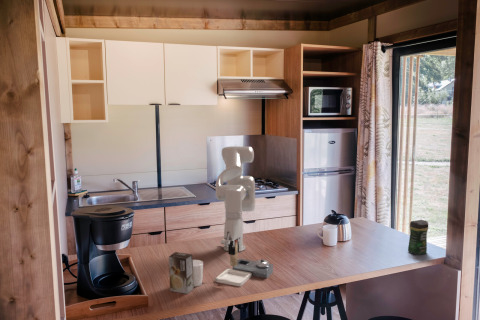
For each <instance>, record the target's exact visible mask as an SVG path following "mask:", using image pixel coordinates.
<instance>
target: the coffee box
mask: <svg viewBox="0 0 480 320" xmlns="http://www.w3.org/2000/svg"><path fill="white" fill-rule="evenodd" d="M193 260H194V259H193V254H192V253H186V252H177V251H174V252H173V253H171V254H170V255H169V256H168V273H169V292H174V293H181V294H185V295H187V294H190V292H191V291H192V290H193V289H194V286H193Z"/></svg>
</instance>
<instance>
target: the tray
mask: <svg viewBox="0 0 480 320" xmlns="http://www.w3.org/2000/svg"><path fill="white" fill-rule="evenodd" d="M252 277H253V276H252V273H250V272H244V271H239V270H234V269H233V268H226V269H225V270H224V271H222V272H221V273H220V274H219V275H218V276H216V277H215V278H214V282H216V283H219V284H220V283H221V284H225V285H228V286H229V285H230V286H231V285H232V286H236V287H240V288H241V287H242V286H243V285H244V284H245V283H246V282H247V281H248V280H249V279H251V278H252Z"/></svg>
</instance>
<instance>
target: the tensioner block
mask: <svg viewBox="0 0 480 320" xmlns="http://www.w3.org/2000/svg"><path fill="white" fill-rule="evenodd" d="M232 269H234V270H239V271H244V272H250V273H252V276H251V277H258V278H263V279H268V278H269V277H270V276H271V275H272V274H273V273H274V264H272V263H269V260H267V259H263V258H261V259H258V260H251V259H244V258H238V259H237V266H232Z"/></svg>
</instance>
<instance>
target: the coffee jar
mask: <svg viewBox="0 0 480 320" xmlns="http://www.w3.org/2000/svg"><path fill="white" fill-rule="evenodd" d="M428 230H429V222H428V221H427V220H424V219H418V220H411V221H410V223H409V241H408V248H407V251H408V252H409V253H410V252H411V253H410V254H412V253H413V255H417V254H419V255H423V254H424V253H425V254H427V253H428V245H427V243H428V242H427V240H428V239H427V237H428V236H427V235H428Z"/></svg>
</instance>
